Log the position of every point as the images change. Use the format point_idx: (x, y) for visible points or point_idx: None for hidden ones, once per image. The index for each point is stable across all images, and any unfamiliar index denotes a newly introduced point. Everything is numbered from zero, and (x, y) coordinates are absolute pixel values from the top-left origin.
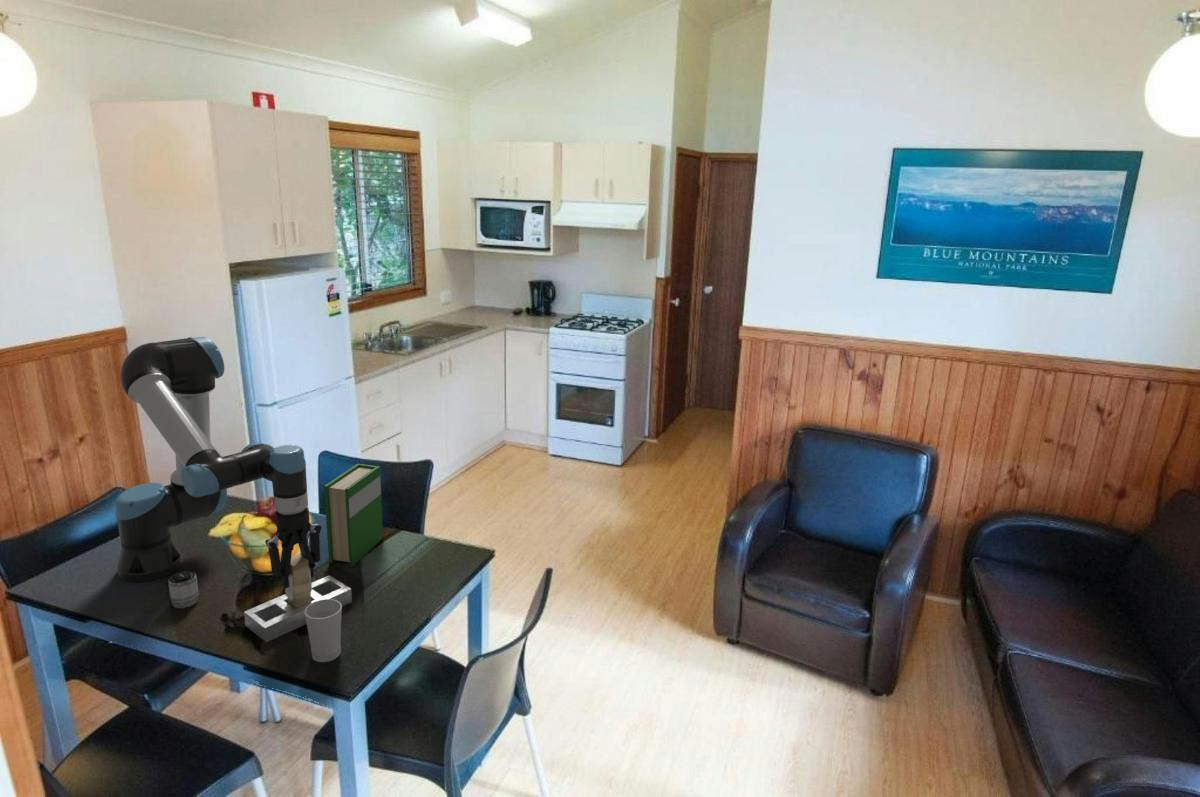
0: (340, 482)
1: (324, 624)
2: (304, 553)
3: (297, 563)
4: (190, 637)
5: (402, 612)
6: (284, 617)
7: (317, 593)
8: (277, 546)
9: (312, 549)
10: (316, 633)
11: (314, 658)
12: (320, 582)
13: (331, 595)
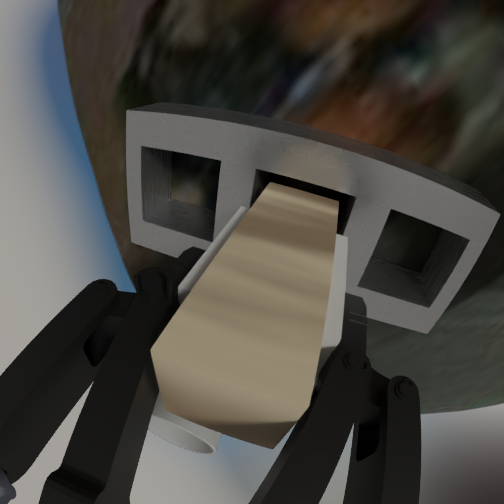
0: None
1: (167, 424)
2: (269, 474)
3: (199, 423)
4: (73, 50)
5: None
6: None
7: (366, 259)
8: (11, 486)
9: (364, 478)
10: None
11: None
12: (445, 216)
13: (372, 307)
